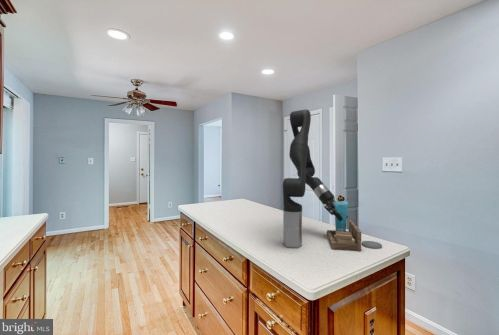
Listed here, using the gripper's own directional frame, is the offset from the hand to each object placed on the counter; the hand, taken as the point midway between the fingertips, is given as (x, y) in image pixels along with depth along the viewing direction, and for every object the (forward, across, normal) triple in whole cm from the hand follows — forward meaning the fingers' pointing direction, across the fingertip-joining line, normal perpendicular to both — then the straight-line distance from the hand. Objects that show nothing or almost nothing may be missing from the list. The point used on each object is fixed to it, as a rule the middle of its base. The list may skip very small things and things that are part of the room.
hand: (344, 219), depth 131 cm
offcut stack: (+11, -8, +5) cm, 14 cm away
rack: (+9, -4, +7) cm, 12 cm away
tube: (+6, 0, +9) cm, 11 cm away
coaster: (+17, +2, -2) cm, 17 cm away
